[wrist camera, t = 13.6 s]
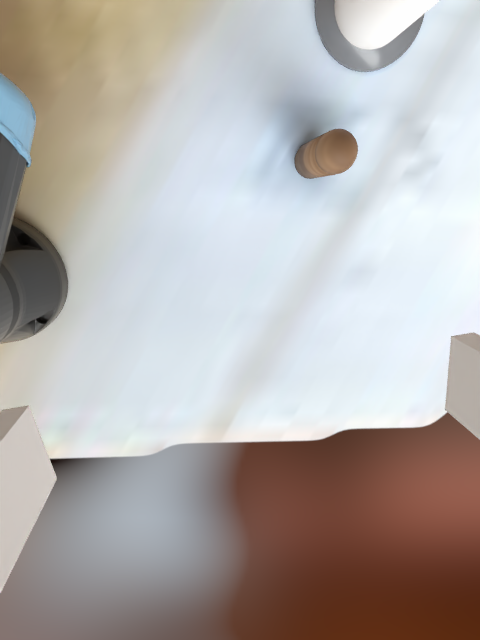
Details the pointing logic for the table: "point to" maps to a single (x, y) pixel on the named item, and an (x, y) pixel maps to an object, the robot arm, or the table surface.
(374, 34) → the cup
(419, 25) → the coaster
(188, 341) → the table surface
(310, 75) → the table surface
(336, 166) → the pepper mill
